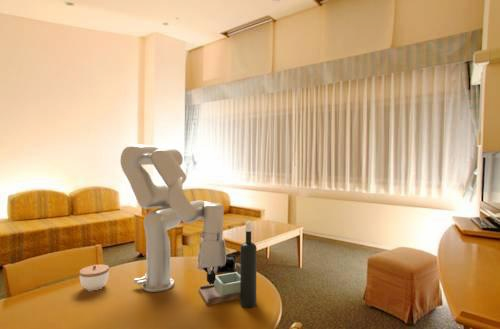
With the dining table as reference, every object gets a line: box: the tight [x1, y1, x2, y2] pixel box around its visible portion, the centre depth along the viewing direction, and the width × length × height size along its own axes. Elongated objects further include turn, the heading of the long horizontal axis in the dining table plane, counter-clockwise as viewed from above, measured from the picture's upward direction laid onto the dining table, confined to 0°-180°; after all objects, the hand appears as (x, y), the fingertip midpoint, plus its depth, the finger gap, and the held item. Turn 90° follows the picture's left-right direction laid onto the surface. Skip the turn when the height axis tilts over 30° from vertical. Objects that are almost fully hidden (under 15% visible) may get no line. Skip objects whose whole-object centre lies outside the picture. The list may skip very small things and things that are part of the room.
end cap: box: [217, 254, 236, 273], centre depth 139 cm, size 10×7×7 cm
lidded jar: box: [78, 264, 110, 292], centre depth 118 cm, size 11×11×9 cm
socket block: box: [214, 271, 241, 296], centre depth 114 cm, size 10×10×4 cm
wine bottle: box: [239, 220, 258, 309], centre depth 105 cm, size 6×6×30 cm
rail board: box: [198, 262, 241, 306], centre depth 113 cm, size 17×12×9 cm
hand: (210, 282), depth 112 cm, fingers closed
